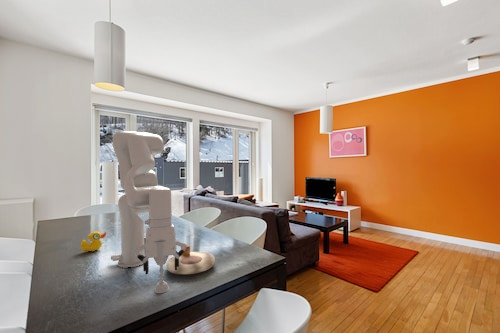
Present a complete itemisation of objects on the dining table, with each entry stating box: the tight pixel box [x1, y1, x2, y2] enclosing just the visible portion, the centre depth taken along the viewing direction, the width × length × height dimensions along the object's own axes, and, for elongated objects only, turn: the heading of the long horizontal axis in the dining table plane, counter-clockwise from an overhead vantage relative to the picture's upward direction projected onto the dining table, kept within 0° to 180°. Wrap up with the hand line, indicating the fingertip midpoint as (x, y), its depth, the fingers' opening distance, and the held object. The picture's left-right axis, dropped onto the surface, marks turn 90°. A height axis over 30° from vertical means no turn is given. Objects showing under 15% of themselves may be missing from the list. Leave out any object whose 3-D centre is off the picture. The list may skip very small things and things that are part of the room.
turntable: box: [166, 243, 216, 275], centre depth 103 cm, size 20×20×6 cm
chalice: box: [153, 241, 170, 294], centre depth 85 cm, size 7×7×18 cm
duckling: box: [80, 231, 107, 253], centre depth 126 cm, size 11×5×10 cm, turn 126°
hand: (161, 270), depth 85 cm, fingers open, 9 cm apart
